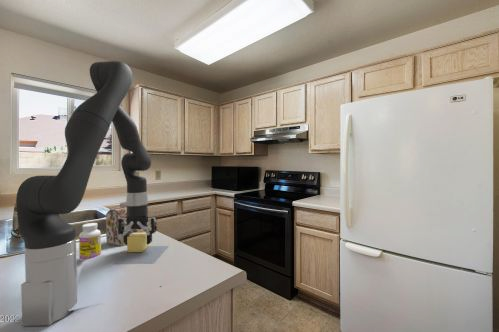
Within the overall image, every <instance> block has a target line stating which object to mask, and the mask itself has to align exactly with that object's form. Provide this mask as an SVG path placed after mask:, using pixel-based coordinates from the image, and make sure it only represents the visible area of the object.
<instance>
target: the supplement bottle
mask: <svg viewBox="0 0 499 332" xmlns="http://www.w3.org/2000/svg"><path fill="white" fill-rule="evenodd" d="M81 226H82V227H81V229H82V231H80V233H79V236H78V238H79V240H78V242H79V243H78V245H79V248H78V249H79V251H78V252H79V254H78V255H79V258H78V259H79V261H81V262H85V261H84V260H88V259H92V258H93V259H94V258H97V257H98V256H100V255H101V254H102V237H101V236H102V235H101V230H100V229H98V223H97V222H89V223H88V222H87V223H83V225H81Z"/></svg>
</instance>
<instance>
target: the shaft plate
mask: <svg viewBox="0 0 499 332" xmlns="http://www.w3.org/2000/svg"><path fill="white" fill-rule="evenodd" d="M169 247H170V245H151V246H150V245H148V247H147V248H146V249H145V250H144V251H143V252H128V251H127V252H126V253H125V254H124V255H122V256H121V257H120V258H119V259H118V260H116V261H115V262H113V265H131V264H132V265H137V264H139V265H140V264H142V265H143V264H148V265H149V264H152V265H153V264H155V263H156V262H157V261H158V259H160V258H161V256H162V255H163V254H164V253H165V252H166V251H167V250H168V248H169Z"/></svg>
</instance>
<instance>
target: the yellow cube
mask: <svg viewBox="0 0 499 332" xmlns="http://www.w3.org/2000/svg"><path fill="white" fill-rule="evenodd" d="M148 246H149V244H147V234H146V232H138V233H133V234H131V235H130V236H128V237H127V253H128V252H143V251H144V250H145V249H146V248H147V247H148Z"/></svg>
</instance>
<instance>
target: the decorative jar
mask: <svg viewBox="0 0 499 332" xmlns="http://www.w3.org/2000/svg"><path fill="white" fill-rule="evenodd" d="M123 217H124V218H127V204H126V201H121V202H119V205H116V206H113V207H111V208H110V209H109V210H108V211H107V212H106V213H105V231H106V232H105V237H106V244H109V245H113V246H118V247H125V246H127V245H125V243H124V236H123V235H122V234H118V220H119V219H120V218H123ZM127 227H128V223H127V222H126V223H125V227H124V230H125V229H126V228H127ZM138 232H145V231H143V230H142V229H131V230H130V232H129V233H128V234H129V236H130V235H131V234H133V233H138Z"/></svg>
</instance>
